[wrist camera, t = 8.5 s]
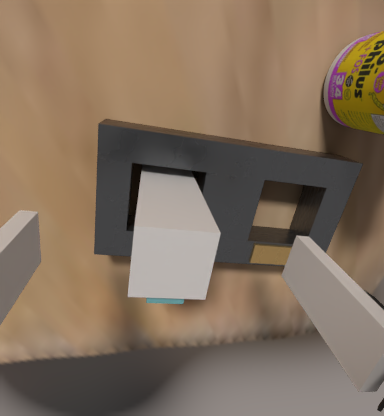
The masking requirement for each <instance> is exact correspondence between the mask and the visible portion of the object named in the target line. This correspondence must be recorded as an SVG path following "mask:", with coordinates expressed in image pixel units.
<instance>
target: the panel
mask: <svg viewBox="0 0 384 416" xmlns="http://www.w3.org/2000/svg"><path fill="white" fill-rule="evenodd" d="M134 163H137V164H145V165H153V166H161V167H169V168H176V169H184V170H192V171H199V172H198V177H197V184H198V186H199V189H200V191H201V193H202V195H203V197H204V199H205V201H206V203H207V205H208V207H209V210H210V212H211V214H212V216H213V218H214V220H215V222H216V224H217V226H218V229H219V231H220V233H221V234H220V239H219V243H218V247H217V251H216V256H215V260H214V262H226V263H242V264H257V265H273V266H285V265H286V262H287V260H288V257H289V254H290V252H291V249H292V246H293V243H294V241H295V238H296V235H297V236H308V237H310V238H311V239H312V240H313V241H314V242H315V243H316V244H317V245H318V246H319V247H320V248H321V249H322V250H323V251H324V252H325V253H326V251H327V249H328V246H329V244H330V242H331V239H332V237H333V234H334V232H335V230H336V227H337V225H338V222H339V220H340V218H341V215H342V213H343V210H344V208H345V206H346V203H347V201H348V198H349V196H350V194H351V191H352V189H353V187H354V184H355V182H356V179H357V177H358V175H359V172H360V170H361V167H362V165H363V164H362V163H359V162H357V161H354V160H351V159H348V158H345V157H342V156H340V155H334V154H327V153H321V152H315V151H308V150H302V149H295V148H289V147H283V146H276V145H270V144H263V143H257V142H251V141H244V140H238V139H231V138H225V137H218V136H212V135H206V134H199V133H193V132H186V131H180V130H174V129H167V128H161V127H154V126H148V125H142V124H135V123H129V122H122V121H116V120H110V119H105V120H103V121H102V122H100V123H99V126H98V156H97V186H96V217H95V247H94V254H101V255H116V256H132V245H133V235H134V225H135V217H136V215H129V211H130V200H131V188H132V176H133V165H134ZM265 180H270V181H277V182H285V183H293V184H301V185H304V188H303V191H302V194H301V197H300V200H299V203H298V206H297V208H296V211H295V214H294V217H293V220H292V223H291V226H290V229H280V228H270V227H259V226H252V223H253V220H254V216H255V213H256V209H257V206H258V202H259V199H260V195H261V192H262V188H263V184H264V181H265Z"/></svg>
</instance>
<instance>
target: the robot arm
mask: <svg viewBox="0 0 384 416" xmlns="http://www.w3.org/2000/svg"><path fill="white" fill-rule="evenodd" d="M40 262H41V251H40V235H39V220H38V212H34V211H23V210H19V211H18V212H17V213H16V214H15V215H14V216H13V217H12V218H11V219H10V220H9V221H8V222H7V223H6V224H4V225H3V226H2V227H1V228H0V325H1V323H2V322H3V320H4V319H5V317H6V316H7V314H8V312H9V311H10V309H11V308H12V306H13V305H14V303H15V301H16V300H17V298H18V297H19V295H20V294H21V292H22V291H23V289H24V287H25V286H26V284H27V283H28V281H29V280H30V278H31V276H32V275H33V273H34V272H35V270H36V269H37V267H38V266H39V264H40ZM282 277H283V279H284V280H285V282H286V283H287V285H288V286H289V288H290V289H291V291H292V292H293V294H294V295H295V297H296V298H297V300H298V301H299V303H300V304H301V306H302V307H303V309H304V310H305V312H306V313H307V315H308V316H309V318H310V320H311V321H312V323H313V324H314V326H315V327H316V329H317V330H318V332H319V333H320V334H321V336H322V337H323V339H324V340H325V342H326V344H327V345H328V346H329V348H330V349H331V351H332V353H333V354H334V355H335V357H336V359H337V360H338V362H339V363H340V365H341V366H342V368H343V369H344V371H345V372H346V373H347V375H348V377H349V378H350V380H351V381H352V383H353V384H354V386H355V387H356V389H357V390H358V392H372V391H377V390H378V388H379V387H380V385H381V384H382V382H383V381H384V306H383V305H382V304H381V303H380V302H379V301H378V300H377V299H376V298H375V297H374V296H372V295H371V294H369V293H368V292H366V291H365V290H363V289H362V288H361V287H360V286H359V285H358V284H357V283H356V282H355V281H354V280H353V279H352V278H351V277H349V276H348V275H347V274H346V273H345V272H344V271H343V270H342V269H341V268H340V267H339V266H338V265H337V264H336V263H335V262H334V261H333V260H332V259H331V258H330V257H329V256H328V255H327V254H326V253H325V252H324V251H323V250H322V249H321V248H320V247H319V246H318V245H317V244H316V243H315V242H314V241H313V240H312V239H311V238H310V237H308V236H297V235H296V238H295V241H294V243H293V246H292V249H291V252H290V254H289V257H288V260H287V262H286V265H285V268H284V270H283V273H282ZM383 408H384V398H383V400H382V402H381V403H380V404H379V406H378V409H377V410H379V411H382V409H383Z"/></svg>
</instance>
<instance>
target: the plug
mask: <svg viewBox="0 0 384 416" xmlns="http://www.w3.org/2000/svg"><path fill="white" fill-rule="evenodd" d="M220 234H221V233H220V231H219V229H218V226H217V224H216V222H215V220H214V218H213V216H212V214H211V212H210V210H209V207H208V205H207V203H206V201H205V199H204V197H203V195H202V193H201V191H200V189H199V186H198V184H197V182H196V180H195V178H194V176H193V174H192V172H191V170H184V169H176V168H169V167H161V166H153V165H145V164H142V171H141V179H140V187H139V194H138V202H137V209H136V217H135V225H134V235H133V245H132V256H131V266H130V277H129V287H128V297H144V298H146V303H169V304H183V302H184V299H200V300H205V298H206V294H207V290H208V285H209V281H210V277H211V273H212V268H213V264H214V260H215V256H216V251H217V247H218V243H219V239H220Z"/></svg>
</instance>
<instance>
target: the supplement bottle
mask: <svg viewBox="0 0 384 416" xmlns="http://www.w3.org/2000/svg"><path fill="white" fill-rule="evenodd" d="M324 102H325V106H326V109H327V111H328V113H329V114H330V116H331V117H332V118H333V119H334V120H335V121H336V122H338V123H340V124H341V125H344V126H346V127H350V128H354V129H359V130H364V131H369V132H374V133H379V134H383V135H384V31H383V32H378V33H374V34H370V35H367V36H364V37H361V38H359V39H357V40H355V41H353V42H352V43H350V44H349V45H348V46H346V47H345V48H344V49H343V50H342V51H341V52H340V53H339V54H338V56H337V57H336V58H335V60H334V61H333V63H332V65H331V66H330V68H329V71H328V73H327V76H326V79H325V83H324Z"/></svg>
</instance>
